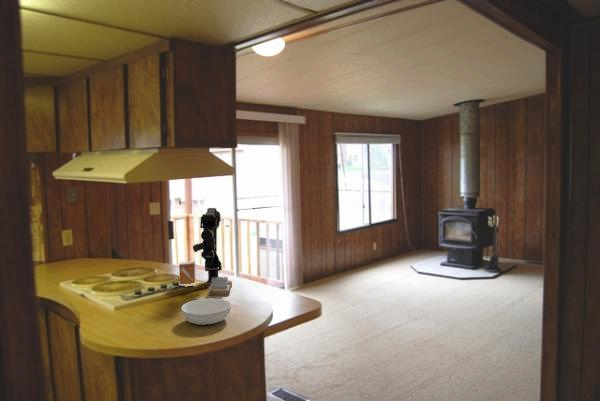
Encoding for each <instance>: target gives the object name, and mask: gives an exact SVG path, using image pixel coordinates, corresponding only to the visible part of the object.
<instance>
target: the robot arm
mask: <svg viewBox="0 0 600 401" xmlns="http://www.w3.org/2000/svg"><path fill="white" fill-rule="evenodd" d="M221 216H222V215H221V213H220V211H218V210H217V208H216V207H209V208H207V209H206V212H205V213H203V214H202V216H200V222H199V223H200V226H199V228H200V229H202V232H201V234H200V238H201V240H202V242H200V243H196V244H194V245H192V250H193V252H194V253H197V252H199V251H202V252H201V254H200V256H201V258H202V259H204V270H205V272H207V276H208V278H207V281H206V282H207V283H211V279H212V277H219V272H220V271H222V270H223V268H222V267H223V266H222V262H221V260H220V257H219V255H218V253H217V251H218V247H217V245H218V243H217V242H218V241H217V240H218V237H217V236H218V231H217V230H218V228H219V227H220V225H221V224H220V223H221V221H222V220H221V219H222V218H221Z"/></svg>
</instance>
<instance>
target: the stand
mask: <svg viewBox="0 0 600 401" xmlns="http://www.w3.org/2000/svg"><path fill="white" fill-rule="evenodd" d="M231 289H232V287H230V286H229V285H228V288H221V289H212V285H211V287H210V289H209V290H208V291H209V292H208V294H209V295H208V296H209V297H216V296H217V297H220V296H222V297H223V296H224V297H225V296H230V295H231V294H230V293H231V291H232V290H231Z"/></svg>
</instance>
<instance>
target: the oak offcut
mask: <svg viewBox="0 0 600 401" xmlns="http://www.w3.org/2000/svg"><path fill="white" fill-rule="evenodd" d="M232 281H233V280H231V279H228V285H229V286H230V288H232V287H233V282H232Z"/></svg>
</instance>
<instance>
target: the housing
mask: <svg viewBox="0 0 600 401" xmlns="http://www.w3.org/2000/svg"><path fill="white" fill-rule="evenodd" d="M228 280H229V277H228V276H218V277H212V279H211V282H210V283H211V286H212V289H221V288H228Z"/></svg>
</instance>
